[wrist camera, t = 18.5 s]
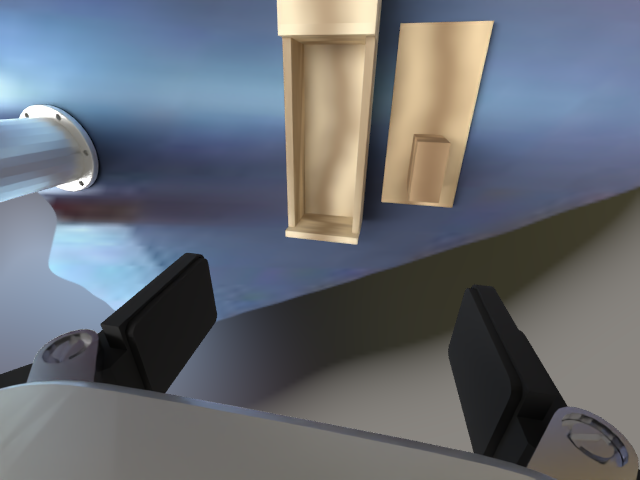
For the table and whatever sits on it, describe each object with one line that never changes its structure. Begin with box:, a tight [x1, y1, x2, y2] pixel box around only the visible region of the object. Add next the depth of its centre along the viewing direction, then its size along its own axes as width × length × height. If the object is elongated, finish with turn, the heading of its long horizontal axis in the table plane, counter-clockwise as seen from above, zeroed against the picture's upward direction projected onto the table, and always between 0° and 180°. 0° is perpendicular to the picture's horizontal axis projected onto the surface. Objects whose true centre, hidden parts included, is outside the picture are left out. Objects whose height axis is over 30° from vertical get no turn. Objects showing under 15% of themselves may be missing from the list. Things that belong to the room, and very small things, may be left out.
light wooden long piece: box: [277, 0, 382, 245], centre depth 32 cm, size 9×27×7 cm, turn 179°
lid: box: [381, 21, 494, 208], centre depth 31 cm, size 9×19×7 cm, turn 179°
